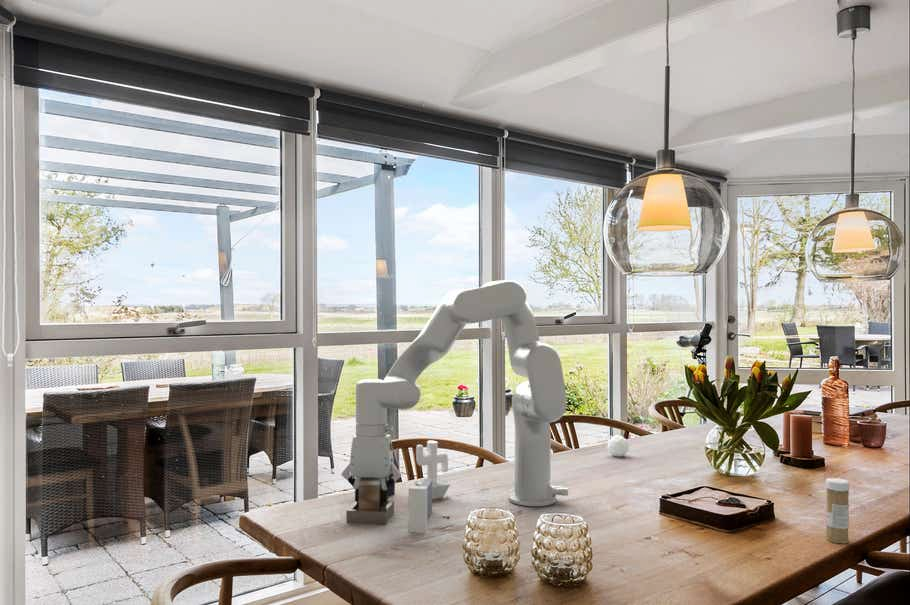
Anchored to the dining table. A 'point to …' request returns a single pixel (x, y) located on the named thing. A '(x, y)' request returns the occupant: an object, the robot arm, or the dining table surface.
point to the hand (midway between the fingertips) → (371, 504)
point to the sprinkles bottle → (837, 510)
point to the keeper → (370, 514)
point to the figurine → (433, 467)
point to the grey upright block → (419, 506)
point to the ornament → (618, 446)
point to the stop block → (369, 494)
